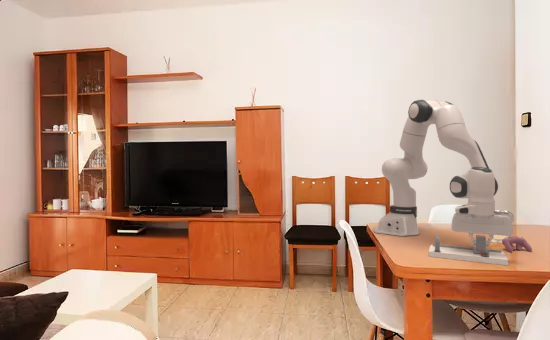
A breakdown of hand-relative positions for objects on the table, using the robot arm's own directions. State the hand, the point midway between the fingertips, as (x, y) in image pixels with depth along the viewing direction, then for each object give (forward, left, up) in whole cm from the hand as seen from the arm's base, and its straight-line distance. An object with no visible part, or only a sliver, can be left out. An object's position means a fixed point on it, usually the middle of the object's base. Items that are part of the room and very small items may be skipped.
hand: (480, 245), depth 131 cm
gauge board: (-5, 0, -5) cm, 7 cm away
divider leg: (0, -1, -3) cm, 3 cm away
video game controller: (+14, +20, -6) cm, 25 cm away
